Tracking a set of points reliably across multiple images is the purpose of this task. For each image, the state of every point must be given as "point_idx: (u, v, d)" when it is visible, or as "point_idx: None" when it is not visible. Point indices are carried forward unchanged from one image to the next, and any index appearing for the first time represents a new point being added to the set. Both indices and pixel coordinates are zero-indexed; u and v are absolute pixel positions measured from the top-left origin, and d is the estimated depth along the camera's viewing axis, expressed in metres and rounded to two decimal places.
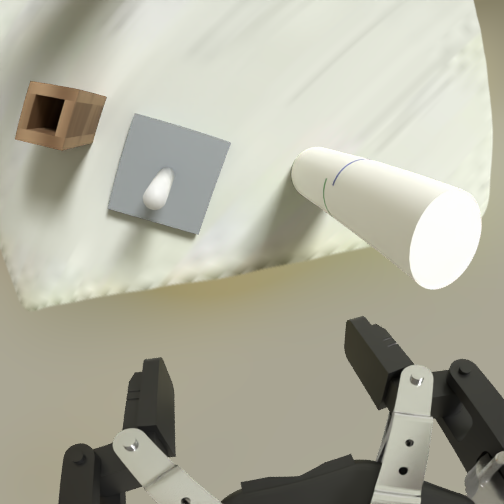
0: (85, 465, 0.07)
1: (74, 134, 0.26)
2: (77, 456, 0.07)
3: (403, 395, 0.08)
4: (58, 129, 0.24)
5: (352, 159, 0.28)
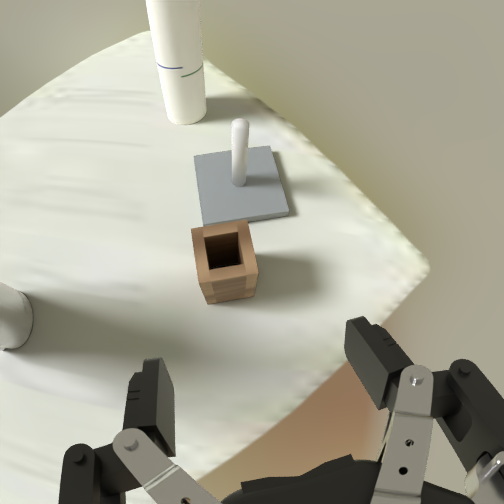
0: (85, 465, 0.07)
1: None
2: (77, 456, 0.07)
3: (403, 395, 0.08)
4: (231, 230, 0.33)
5: (162, 70, 0.40)
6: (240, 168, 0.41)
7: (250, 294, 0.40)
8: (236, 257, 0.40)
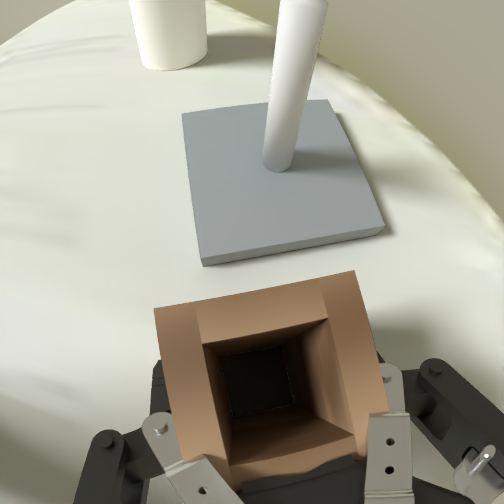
0: (114, 451, 0.07)
1: None
2: (106, 442, 0.08)
3: None
4: (303, 315, 0.09)
5: None
6: (289, 127, 0.16)
7: None
8: (284, 342, 0.16)
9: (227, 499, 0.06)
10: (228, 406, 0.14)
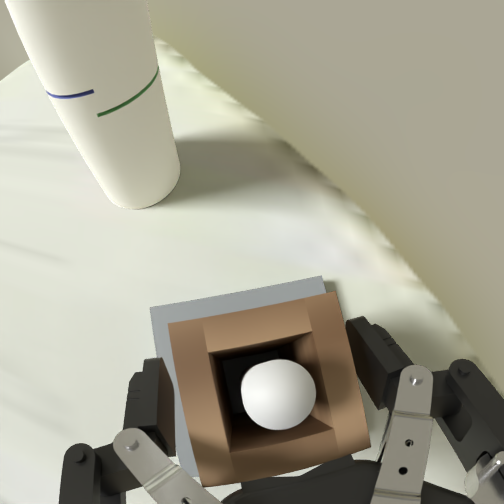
0: (86, 465, 0.07)
1: None
2: (78, 456, 0.07)
3: (403, 395, 0.08)
4: (291, 329, 0.11)
5: (53, 102, 0.14)
6: None
7: None
8: (279, 348, 0.18)
9: None
10: (229, 404, 0.16)
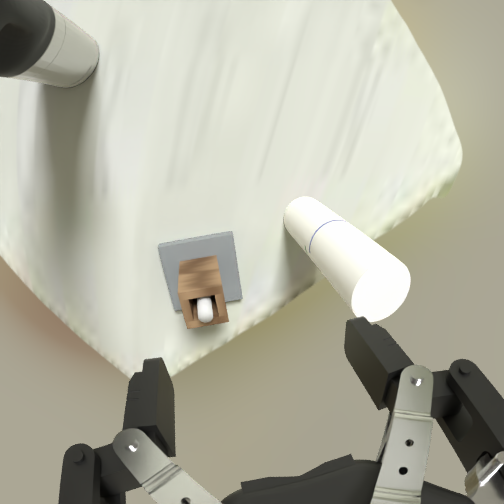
0: (85, 465, 0.07)
1: None
2: (78, 456, 0.07)
3: (403, 395, 0.08)
4: (219, 312, 0.43)
5: (316, 227, 0.40)
6: None
7: None
8: None
9: None
10: None
